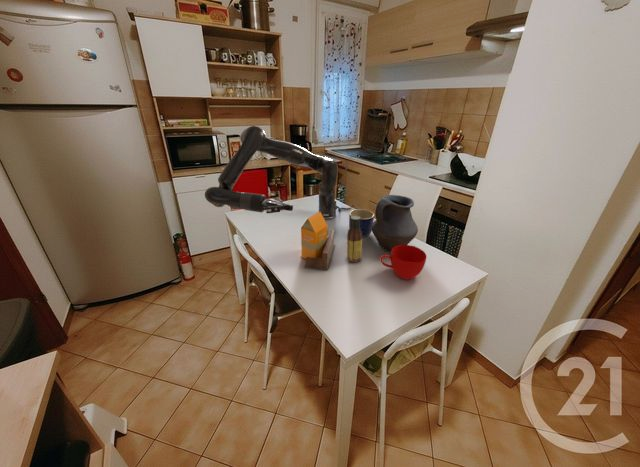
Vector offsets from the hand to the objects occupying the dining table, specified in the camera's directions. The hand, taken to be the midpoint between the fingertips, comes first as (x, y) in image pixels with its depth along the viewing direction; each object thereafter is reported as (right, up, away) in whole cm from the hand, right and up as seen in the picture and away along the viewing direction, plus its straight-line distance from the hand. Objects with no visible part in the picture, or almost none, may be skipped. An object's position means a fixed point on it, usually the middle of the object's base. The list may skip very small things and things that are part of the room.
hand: (292, 207), depth 109 cm
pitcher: (+45, -17, +15) cm, 50 cm away
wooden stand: (+12, -21, +7) cm, 25 cm away
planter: (+32, -11, +27) cm, 43 cm away
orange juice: (+9, -21, +7) cm, 24 cm away
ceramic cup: (+43, -27, -4) cm, 51 cm away
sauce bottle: (+26, -22, +5) cm, 34 cm away
